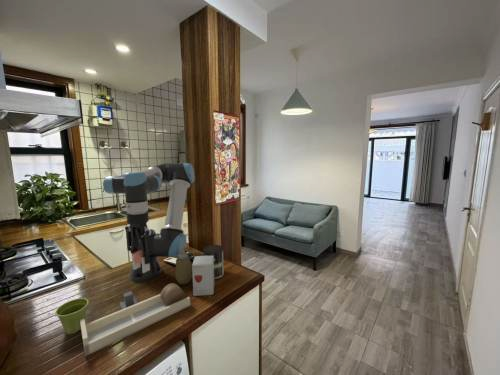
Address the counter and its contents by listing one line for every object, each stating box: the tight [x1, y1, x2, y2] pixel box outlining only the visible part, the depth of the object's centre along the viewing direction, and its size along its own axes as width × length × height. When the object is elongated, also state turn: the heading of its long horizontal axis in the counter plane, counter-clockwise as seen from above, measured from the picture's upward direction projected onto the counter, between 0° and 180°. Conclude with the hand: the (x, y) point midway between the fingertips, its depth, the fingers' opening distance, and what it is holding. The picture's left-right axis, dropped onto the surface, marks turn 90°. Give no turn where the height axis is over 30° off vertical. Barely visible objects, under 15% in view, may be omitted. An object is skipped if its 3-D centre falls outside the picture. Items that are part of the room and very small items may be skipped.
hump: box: [160, 283, 186, 306], centre depth 93 cm, size 6×8×8 cm
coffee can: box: [202, 244, 225, 280], centre depth 116 cm, size 10×10×14 cm
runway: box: [80, 293, 191, 357], centre depth 85 cm, size 11×36×6 cm, turn 131°
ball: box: [132, 250, 143, 264], centre depth 88 cm, size 5×5×5 cm
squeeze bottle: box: [174, 247, 193, 285], centre depth 109 cm, size 8×8×18 cm
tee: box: [119, 290, 139, 310], centre depth 93 cm, size 6×6×5 cm
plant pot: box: [54, 297, 90, 335], centre depth 81 cm, size 9×9×9 cm
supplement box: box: [191, 255, 215, 297], centre depth 103 cm, size 9×9×15 cm
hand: (141, 269), depth 88 cm, fingers closed on ball, 5 cm apart
